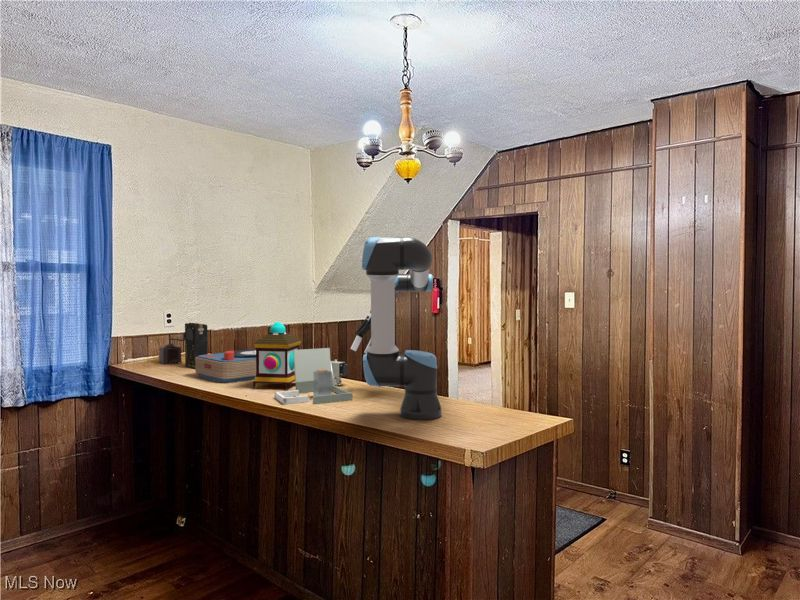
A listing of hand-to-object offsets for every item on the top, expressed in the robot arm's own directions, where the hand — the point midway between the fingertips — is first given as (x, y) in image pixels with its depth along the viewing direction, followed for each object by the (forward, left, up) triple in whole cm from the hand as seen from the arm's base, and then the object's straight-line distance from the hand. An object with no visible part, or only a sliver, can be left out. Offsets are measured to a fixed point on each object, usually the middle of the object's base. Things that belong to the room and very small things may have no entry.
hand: (359, 352), depth 240 cm
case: (+5, +15, -18) cm, 24 cm away
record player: (+76, +32, -19) cm, 85 cm away
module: (+3, +16, -19) cm, 25 cm away
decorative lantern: (+36, +26, -19) cm, 48 cm away
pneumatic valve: (+26, +1, -19) cm, 32 cm away
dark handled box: (+140, +61, -19) cm, 154 cm away
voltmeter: (+114, +52, -19) cm, 127 cm away
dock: (+3, +29, -18) cm, 34 cm away
